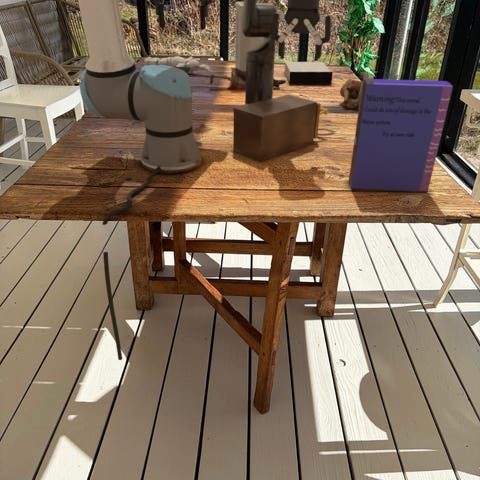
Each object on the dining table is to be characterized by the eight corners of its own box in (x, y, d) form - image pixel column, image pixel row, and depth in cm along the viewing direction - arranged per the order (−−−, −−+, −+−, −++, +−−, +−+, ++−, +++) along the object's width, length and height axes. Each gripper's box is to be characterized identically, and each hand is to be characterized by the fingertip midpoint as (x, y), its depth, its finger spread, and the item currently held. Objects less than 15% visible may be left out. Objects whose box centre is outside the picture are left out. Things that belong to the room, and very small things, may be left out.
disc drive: (289, 84, 198) (290, 71, 196) (284, 72, 218) (284, 61, 215) (331, 84, 199) (332, 72, 196) (322, 72, 218) (323, 61, 215)
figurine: (210, 87, 179) (288, 95, 182) (212, 65, 176) (291, 73, 180) (208, 84, 201) (278, 91, 205) (210, 64, 198) (280, 71, 202)
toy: (163, 81, 199) (162, 64, 196) (139, 70, 217) (137, 54, 213) (213, 75, 211) (213, 58, 207) (186, 64, 229) (186, 49, 225)
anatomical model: (349, 110, 180) (352, 112, 166) (333, 93, 179) (334, 95, 165) (374, 84, 176) (379, 84, 162) (358, 67, 175) (361, 66, 161)
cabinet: (285, 134, 144) (288, 94, 138) (313, 143, 137) (317, 102, 131) (233, 150, 131) (233, 107, 125) (260, 161, 125) (262, 116, 119)
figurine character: (183, 97, 183) (191, 84, 195) (181, 77, 179) (190, 65, 190) (166, 96, 184) (175, 83, 196) (164, 77, 179) (174, 64, 191)
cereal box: (422, 183, 114) (445, 80, 101) (427, 192, 110) (453, 85, 97) (348, 180, 115) (363, 77, 102) (351, 189, 111) (366, 83, 98)
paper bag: (273, 76, 210) (276, 6, 196) (239, 77, 209) (240, 6, 194) (266, 67, 226) (268, 2, 212) (235, 67, 225) (235, 1, 210)
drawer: (305, 126, 148) (308, 93, 143) (329, 133, 142) (333, 100, 137) (244, 144, 133) (245, 109, 127) (268, 154, 127) (270, 117, 122)
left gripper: (224, -51, 138) (224, 28, 149) (144, -53, 144) (150, 24, 154) (216, -52, 132) (216, 31, 143) (133, -53, 137) (140, 27, 148)
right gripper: (336, -14, 112) (329, 58, 121) (277, -16, 115) (273, 54, 124) (334, -12, 106) (326, 64, 115) (271, -14, 109) (268, 60, 118)
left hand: (182, 28), depth 149 cm, fingers open, 13 cm apart
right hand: (299, 59), depth 119 cm, fingers open, 8 cm apart
